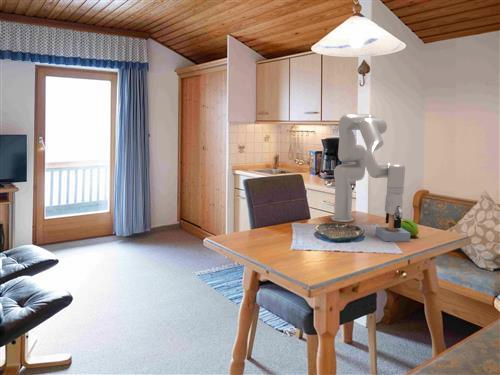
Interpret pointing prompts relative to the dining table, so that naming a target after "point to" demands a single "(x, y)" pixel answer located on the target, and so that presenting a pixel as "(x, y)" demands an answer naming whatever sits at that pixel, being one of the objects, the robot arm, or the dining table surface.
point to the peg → (391, 224)
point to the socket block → (393, 234)
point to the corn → (410, 227)
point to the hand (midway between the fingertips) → (392, 225)
